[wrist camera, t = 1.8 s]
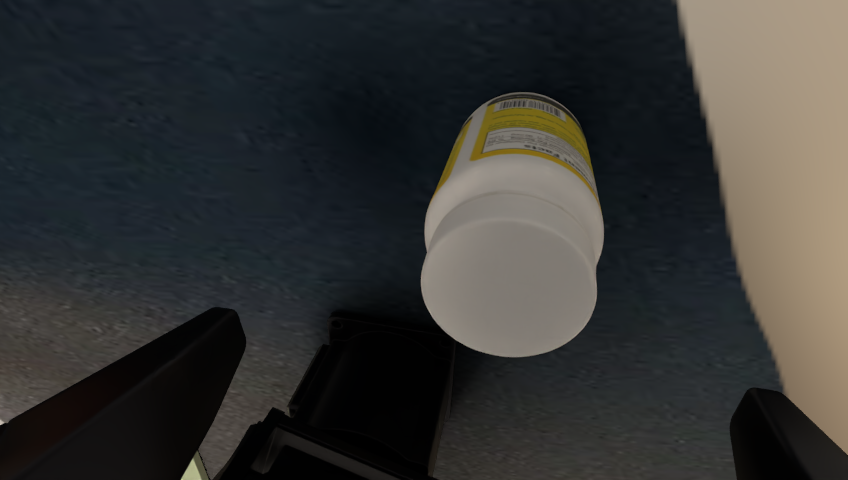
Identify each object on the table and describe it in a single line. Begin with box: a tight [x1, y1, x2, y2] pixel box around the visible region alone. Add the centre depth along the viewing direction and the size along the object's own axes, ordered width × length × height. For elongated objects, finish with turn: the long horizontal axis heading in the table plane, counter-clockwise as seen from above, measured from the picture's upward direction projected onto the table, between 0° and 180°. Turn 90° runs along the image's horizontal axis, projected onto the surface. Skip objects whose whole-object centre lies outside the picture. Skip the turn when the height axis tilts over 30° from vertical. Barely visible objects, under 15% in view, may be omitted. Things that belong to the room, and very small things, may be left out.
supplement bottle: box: [421, 92, 604, 357], centre depth 14 cm, size 5×5×8 cm
